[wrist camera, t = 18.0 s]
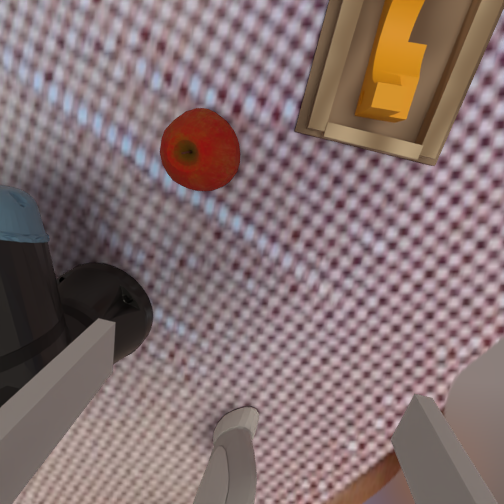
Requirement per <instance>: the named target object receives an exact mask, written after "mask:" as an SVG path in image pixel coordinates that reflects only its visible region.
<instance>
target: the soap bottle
mask: <svg viewBox="0 0 504 504" xmlns="http://www.w3.org/2000/svg"><path fill="white" fill-rule="evenodd" d="M258 420H259V413H258V411H257V410H256V409H255V408H253V407H243V408H240V409H236V410H234V411H232V412H230V413H228V414H226V415H225V416H224V417H223V418H222V419H221V420H220V421H219V422H218V424H217V426H216V428H215V430H214V435H213V445H214V448H213V450H212V453H211V456H210V459H209V462H208V465H207V468H206V470H205V473H204V475H203V477H202V480H201V483H200V485H199V488H198V491H197V494H196V497H195V499H194V502H193V504H254V501H255V495H256V484H257V473H256V463H255V455H254V449H253V444H252V439H253V438H254V435H255V432H256V428H257V424H258Z"/></svg>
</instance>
